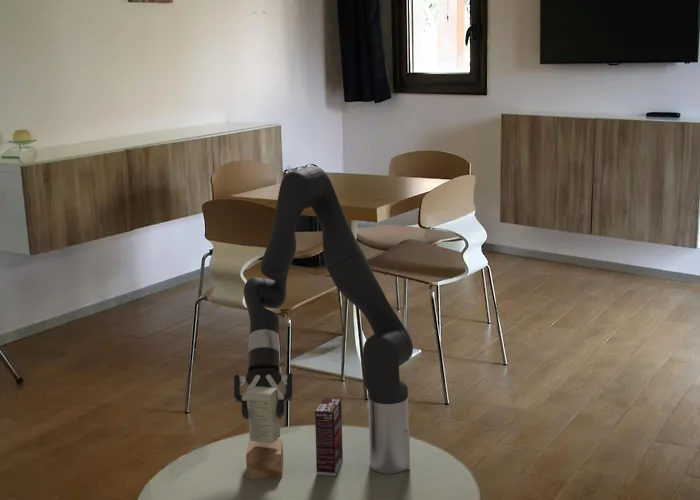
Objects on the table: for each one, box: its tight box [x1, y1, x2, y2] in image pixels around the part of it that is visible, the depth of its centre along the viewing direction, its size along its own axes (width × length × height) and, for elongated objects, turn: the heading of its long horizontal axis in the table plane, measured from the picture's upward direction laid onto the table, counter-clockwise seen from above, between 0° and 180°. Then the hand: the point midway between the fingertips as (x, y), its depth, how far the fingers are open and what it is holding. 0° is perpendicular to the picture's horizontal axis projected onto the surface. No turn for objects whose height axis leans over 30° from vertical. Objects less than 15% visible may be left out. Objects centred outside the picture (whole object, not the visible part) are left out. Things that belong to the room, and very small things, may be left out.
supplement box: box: [314, 397, 344, 477], centre depth 205 cm, size 9×5×16 cm, turn 168°
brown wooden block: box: [245, 438, 284, 480], centre depth 206 cm, size 8×8×6 cm
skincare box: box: [245, 386, 281, 443], centre depth 203 cm, size 6×4×12 cm
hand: (263, 417), depth 202 cm, fingers closed on skincare box, 7 cm apart
